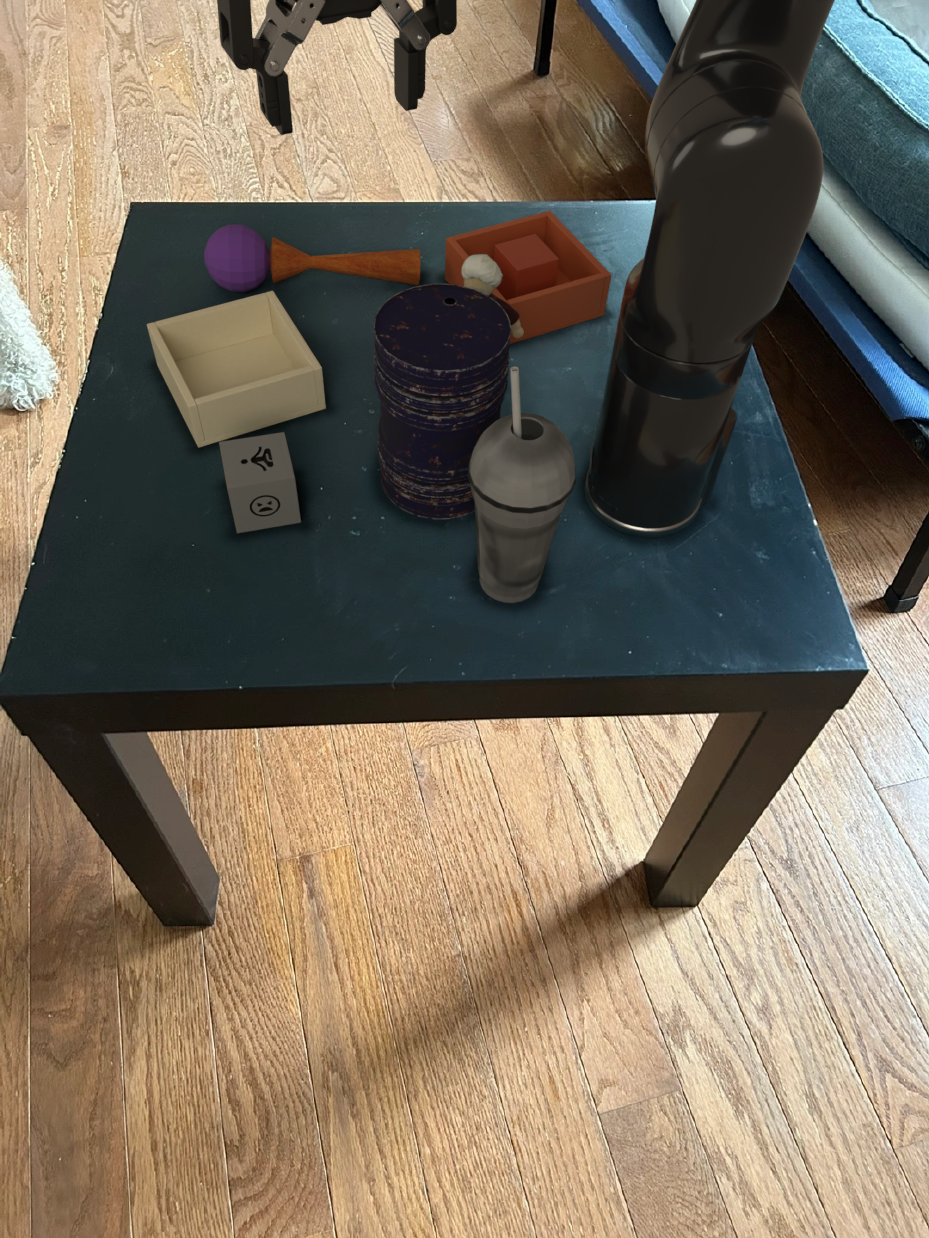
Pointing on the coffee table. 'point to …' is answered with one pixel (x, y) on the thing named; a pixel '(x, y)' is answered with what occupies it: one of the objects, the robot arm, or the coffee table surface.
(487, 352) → the navy cylindrical canister
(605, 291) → the terracotta bin
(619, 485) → the robot arm
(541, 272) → the rust block
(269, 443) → the dice cube
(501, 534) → the beverage cup
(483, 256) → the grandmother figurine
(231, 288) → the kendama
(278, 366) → the cream bin
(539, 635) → the coffee table surface
